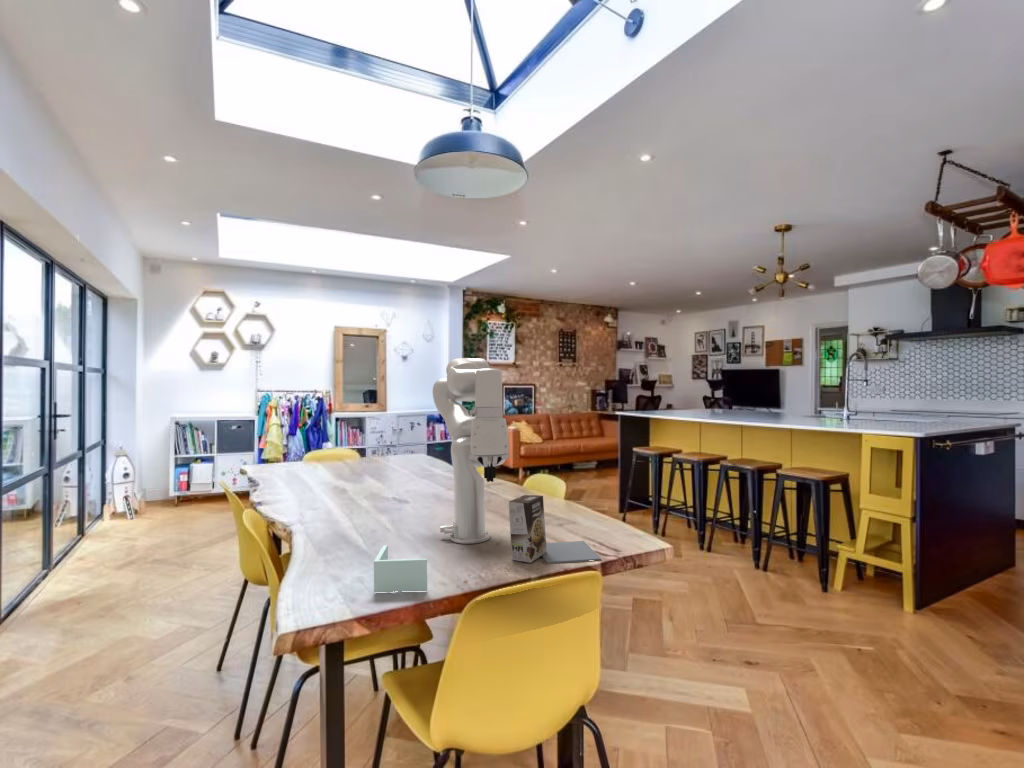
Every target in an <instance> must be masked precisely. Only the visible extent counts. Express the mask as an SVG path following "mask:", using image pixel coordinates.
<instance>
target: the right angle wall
mask: <svg viewBox="0 0 1024 768" xmlns="http://www.w3.org/2000/svg"><path fill="white" fill-rule="evenodd" d="M388 547H389V546H388V544H383V545H382V547H381V549H380V551H379V553H378V554H377V555H376V557H375V559H374V560H373V593H374V592H393V591H394V592H395V591H398V592H402V591H427V592H428V559H427V558H401V559H399V558H398V559H396V558H395V559H389V553H388V552H389V549H388Z"/></svg>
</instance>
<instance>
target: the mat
mask: <svg viewBox="0 0 1024 768" xmlns="http://www.w3.org/2000/svg"><path fill="white" fill-rule="evenodd" d="M546 548H547V552H546V553H545V554H543V555H542V556H541V557H542V559H543V558H544V559H543V560H544V562H545V561H546V562H545V564H547V565H549V564H548V563H555V564H566V563H567V562H570V563H580V561H584V562H590V561H589V560H599V561H602V557H601V556H599V555H598V554H597V552H595V551H594V550H593V549H592V548H591V546H590V545H588V543H586V541H585V540H577V541H576V540H575V541H560V542H559V541H558V542H546ZM565 562H566V563H565ZM567 564H568V563H567Z"/></svg>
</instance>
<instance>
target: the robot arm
mask: <svg viewBox="0 0 1024 768" xmlns="http://www.w3.org/2000/svg"><path fill="white" fill-rule="evenodd" d="M445 370H446V371H445V372H446V377H444V378H439V379H438V380H436V381H435V382H434V383H433V386H432V398H433V402H434V405H435V408H436V409H437V411H438V412H439V415H441V417H442V418H443V420H444V422H445V423H444V424H445V425H446V429H447V432H448V434H449V438H450V440H451V442H452V443H451V446H450V456H451V462H452V469H453V487H454V488H453V490H454V491H453V492H454V494H453V495H454V497H453V498H454V500H453V501H454V502H453V503H454V506H453V507H454V521H452V522H453V523H452V524H450V525H440V526H439V532H440V533H443V534H444V535H445V534H449V540H450V541H452V542H453V543H456V544H463V545H467V544H468V545H469V544H471V545H472V544H478V543H484V542H486V541H488V540H489V539H491V533H490V532H489V531H487V530H486V506H485V505H486V502H485V500H486V498H485V497H486V495H485V494H486V493H485V492H486V491H485V490H486V489H485V488H486V487H485V486H486V485H485V479H486V482H487V483H489V482H492V483H493V482H494V479H496V477H497V476H496V472H497V471H496V467H497V466H501V465H503V464H504V463H505V461H506V460H508V459H509V458H510V455H509V454H510V453H509V450H510V447H509V434H508V433H509V431H508V424H507V420H506V418H503V416H504V415H503V375H502V374H503V373H502V371H501V369H499V368H492V367H490V364H489V362H488V360H486V359H485V358H481V357H476V358H475V357H472V358H471V357H458V358H454V359H452V360H450V361H449V362H448V363H447V366H446V369H445ZM459 402H474V408H473V409H470V410H469V411H468V409H467V408H466V407H465V406H464V405H463V404H461V403H459ZM477 468H483V476H482V474H481V473H480V471H478V470H477Z"/></svg>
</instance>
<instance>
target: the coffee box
mask: <svg viewBox="0 0 1024 768" xmlns="http://www.w3.org/2000/svg"><path fill="white" fill-rule="evenodd" d="M508 515H509V531H510V547H511V548H510V549H511V559H512V561H517V562H525V563H533V562H535V561H536V560H538V559H539V558H541V557H542V555H543V554H545V553H546V552H547V548H546V543H547V537H546V536H547V535H546V520H545V507H544V495H537V494H536V495H535V494H532V495H531V494H530V495H529V494H524V495H521V496H519V497H516V498H514V499H512V500H510V501H508Z"/></svg>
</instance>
